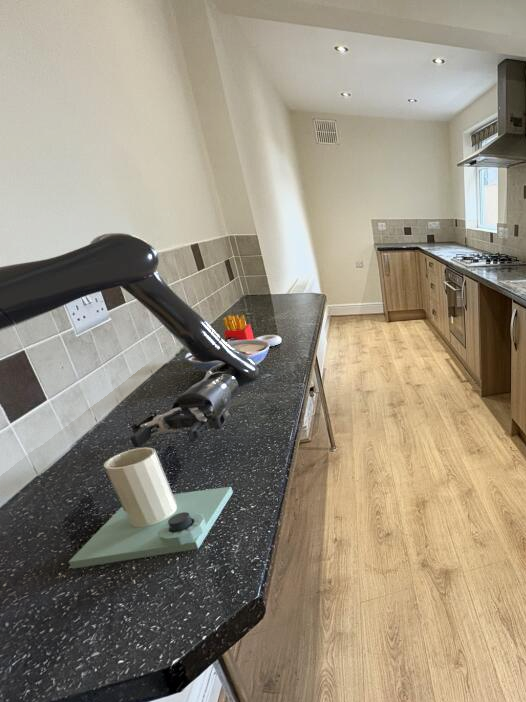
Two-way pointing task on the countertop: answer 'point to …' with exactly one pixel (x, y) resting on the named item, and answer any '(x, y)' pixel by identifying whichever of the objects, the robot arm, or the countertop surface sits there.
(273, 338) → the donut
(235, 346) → the ramen bowl
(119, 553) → the scale
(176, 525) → the button
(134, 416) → the countertop surface
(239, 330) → the french fries container
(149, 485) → the cup
